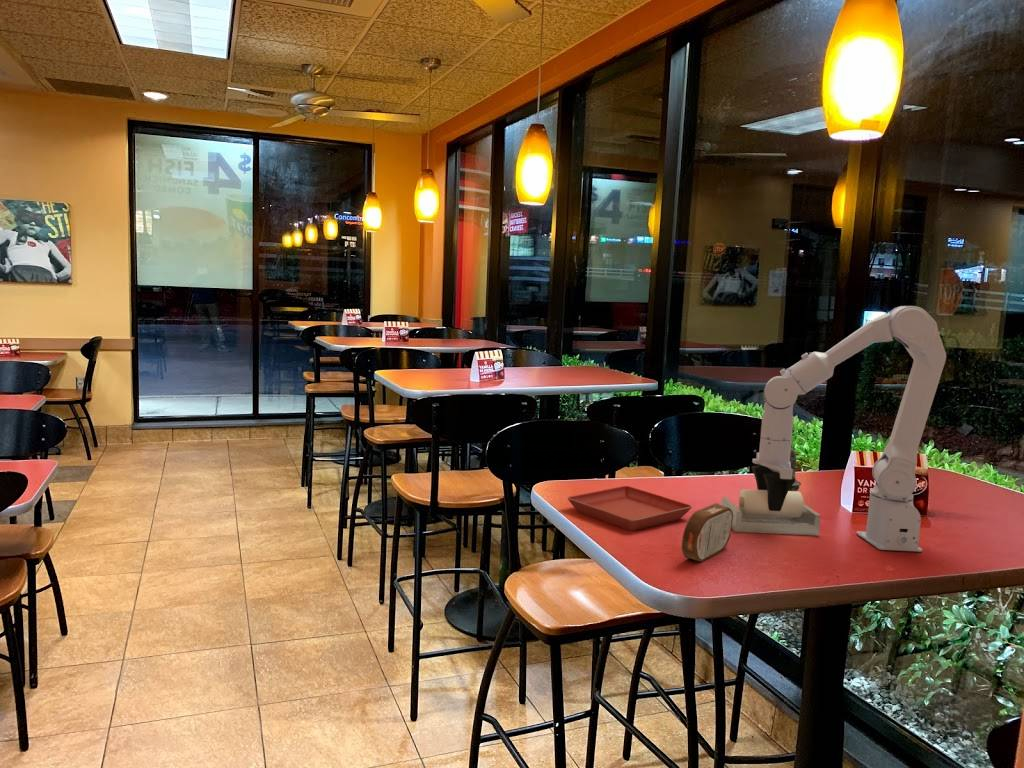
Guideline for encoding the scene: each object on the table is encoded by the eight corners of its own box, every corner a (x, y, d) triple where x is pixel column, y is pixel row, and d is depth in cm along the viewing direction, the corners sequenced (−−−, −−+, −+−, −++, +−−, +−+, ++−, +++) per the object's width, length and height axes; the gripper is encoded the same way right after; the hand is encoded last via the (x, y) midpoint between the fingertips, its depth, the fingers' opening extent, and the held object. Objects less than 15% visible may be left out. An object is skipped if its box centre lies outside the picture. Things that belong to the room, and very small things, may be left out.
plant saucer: (631, 537, 141) (633, 519, 140) (564, 512, 154) (565, 496, 154) (693, 522, 152) (694, 505, 152) (625, 500, 166) (626, 485, 166)
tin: (717, 543, 138) (721, 498, 137) (733, 547, 136) (737, 501, 135) (678, 563, 127) (682, 514, 126) (695, 568, 125) (699, 518, 124)
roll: (804, 519, 148) (805, 493, 148) (744, 517, 147) (745, 491, 147) (794, 514, 153) (795, 489, 153) (736, 512, 152) (737, 487, 152)
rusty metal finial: (795, 494, 176) (800, 443, 175) (802, 501, 170) (808, 448, 169) (769, 492, 177) (774, 441, 175) (775, 499, 171) (780, 446, 170)
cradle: (818, 535, 146) (820, 515, 145) (734, 531, 146) (736, 511, 145) (798, 519, 156) (800, 500, 155) (720, 516, 156) (721, 497, 155)
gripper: (743, 430, 156) (738, 495, 157) (768, 444, 141) (761, 516, 143) (778, 432, 156) (772, 497, 157) (806, 446, 141) (799, 518, 143)
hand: (769, 506), depth 150 cm, fingers closed on roll, 5 cm apart
